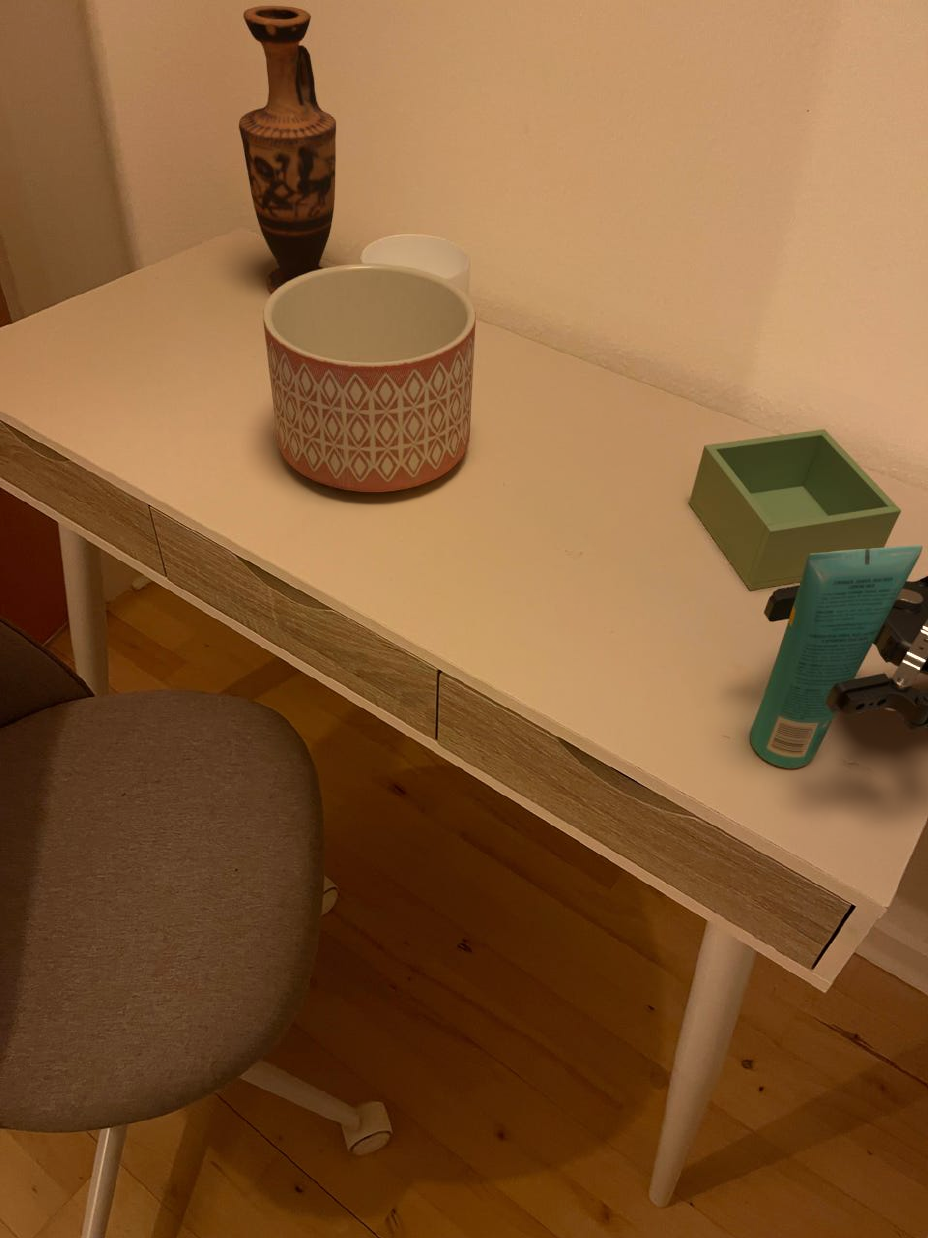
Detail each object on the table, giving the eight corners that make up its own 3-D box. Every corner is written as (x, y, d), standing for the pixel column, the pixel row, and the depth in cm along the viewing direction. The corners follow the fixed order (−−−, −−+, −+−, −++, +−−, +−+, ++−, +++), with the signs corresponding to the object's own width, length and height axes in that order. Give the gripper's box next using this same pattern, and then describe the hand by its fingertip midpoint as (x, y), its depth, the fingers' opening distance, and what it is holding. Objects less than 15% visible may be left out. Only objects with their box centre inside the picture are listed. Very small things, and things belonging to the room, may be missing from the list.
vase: (308, 315, 114) (286, 32, 93) (240, 291, 118) (203, 13, 97) (361, 282, 121) (351, 11, 100) (294, 260, 125) (271, -6, 103)
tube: (809, 711, 73) (900, 518, 60) (841, 760, 70) (945, 569, 56) (721, 727, 72) (794, 533, 58) (750, 778, 68) (834, 586, 55)
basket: (874, 569, 85) (901, 510, 81) (749, 590, 83) (770, 531, 78) (803, 486, 94) (824, 428, 89) (688, 503, 91) (704, 444, 86)
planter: (241, 469, 92) (219, 329, 82) (340, 378, 105) (332, 247, 94) (415, 528, 87) (416, 387, 76) (498, 424, 99) (508, 291, 89)
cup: (470, 338, 112) (475, 238, 104) (459, 390, 104) (464, 286, 95) (373, 329, 113) (370, 229, 104) (354, 380, 104) (350, 276, 96)
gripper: (961, 509, 69) (762, 541, 65) (1102, 648, 59) (878, 694, 56) (922, 584, 74) (736, 617, 71) (1045, 723, 65) (837, 769, 61)
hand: (799, 651), depth 63 cm, fingers open, 8 cm apart
